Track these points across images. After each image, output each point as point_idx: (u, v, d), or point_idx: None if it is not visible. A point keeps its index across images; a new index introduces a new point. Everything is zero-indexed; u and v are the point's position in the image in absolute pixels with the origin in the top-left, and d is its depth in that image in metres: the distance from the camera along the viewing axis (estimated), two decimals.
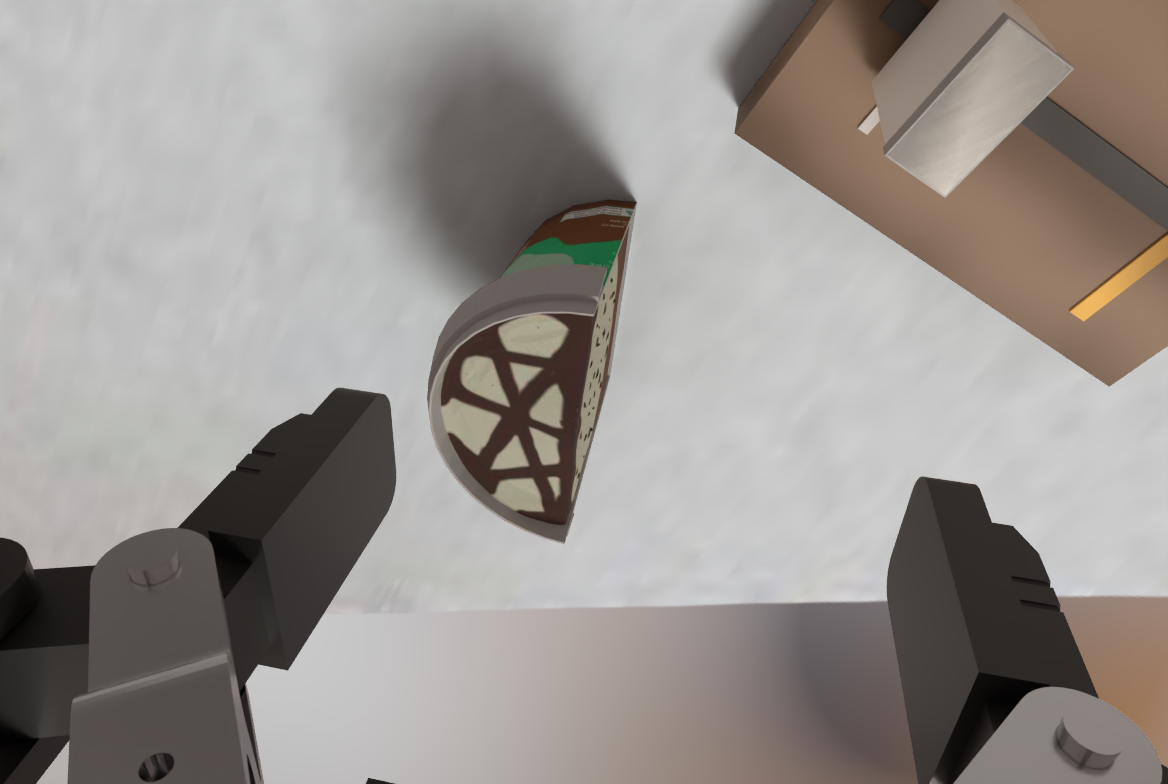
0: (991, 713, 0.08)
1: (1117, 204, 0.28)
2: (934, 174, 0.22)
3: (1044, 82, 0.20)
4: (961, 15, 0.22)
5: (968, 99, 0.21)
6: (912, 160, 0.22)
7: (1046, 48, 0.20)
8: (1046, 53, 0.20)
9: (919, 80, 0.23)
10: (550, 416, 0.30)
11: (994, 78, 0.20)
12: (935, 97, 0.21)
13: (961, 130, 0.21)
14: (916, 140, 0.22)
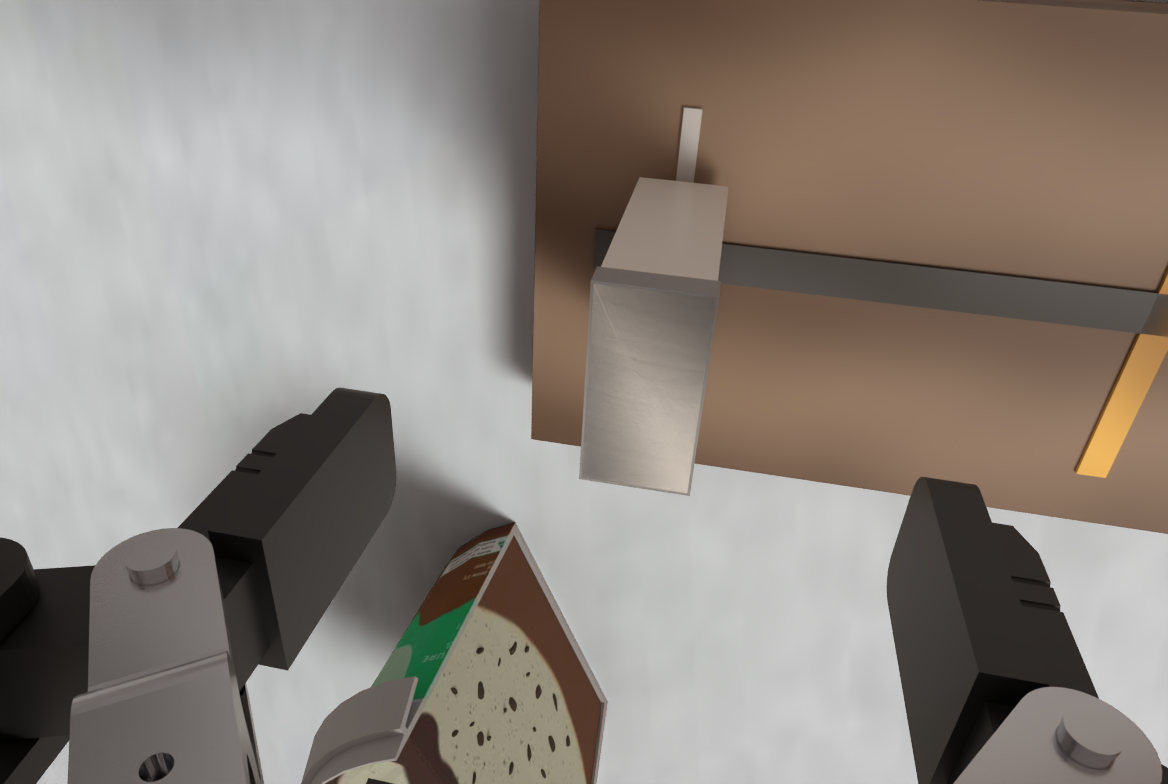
0: (991, 713, 0.08)
1: (1037, 329, 0.19)
2: (654, 476, 0.15)
3: (696, 327, 0.14)
4: None
5: (621, 382, 0.14)
6: (615, 472, 0.15)
7: (665, 289, 0.13)
8: (668, 296, 0.13)
9: None
10: None
11: (632, 349, 0.14)
12: (585, 394, 0.15)
13: (643, 417, 0.15)
14: (601, 449, 0.15)
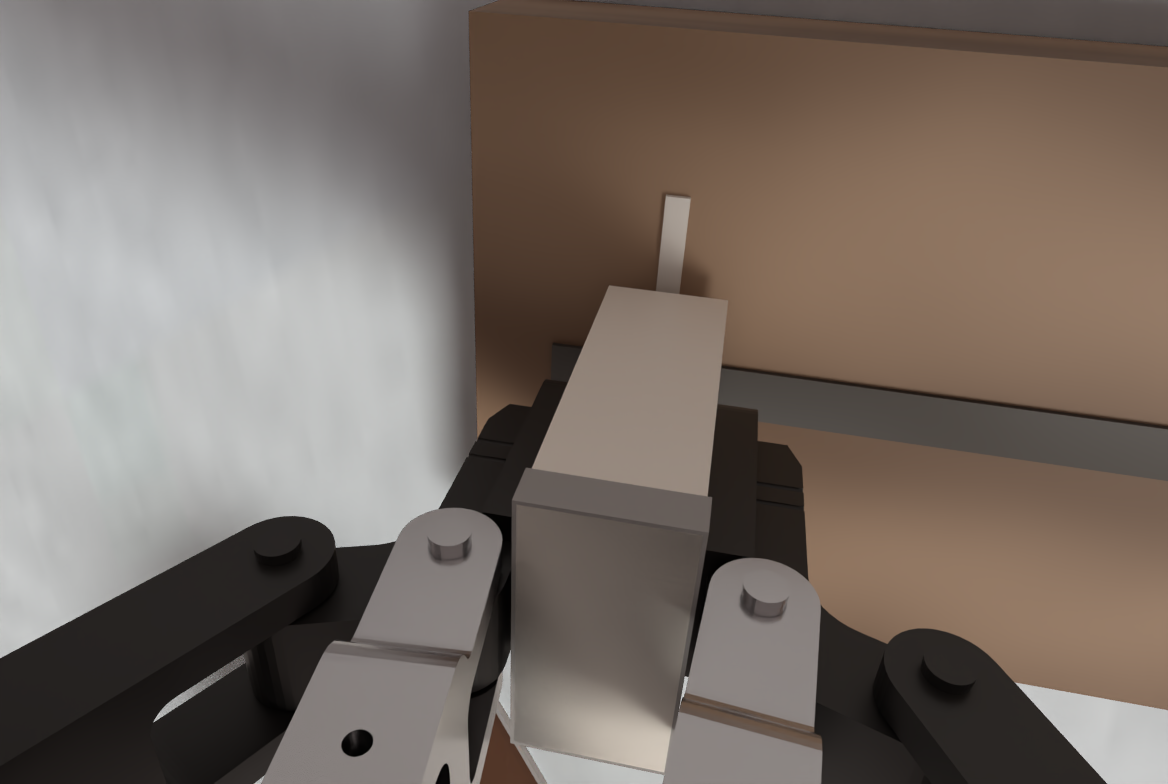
0: None
1: (1137, 486, 0.14)
2: (617, 748, 0.11)
3: (674, 570, 0.09)
4: None
5: (565, 633, 0.10)
6: (560, 739, 0.11)
7: (626, 517, 0.09)
8: (630, 528, 0.09)
9: None
10: None
11: (578, 592, 0.09)
12: (512, 640, 0.10)
13: (598, 679, 0.10)
14: (539, 711, 0.10)
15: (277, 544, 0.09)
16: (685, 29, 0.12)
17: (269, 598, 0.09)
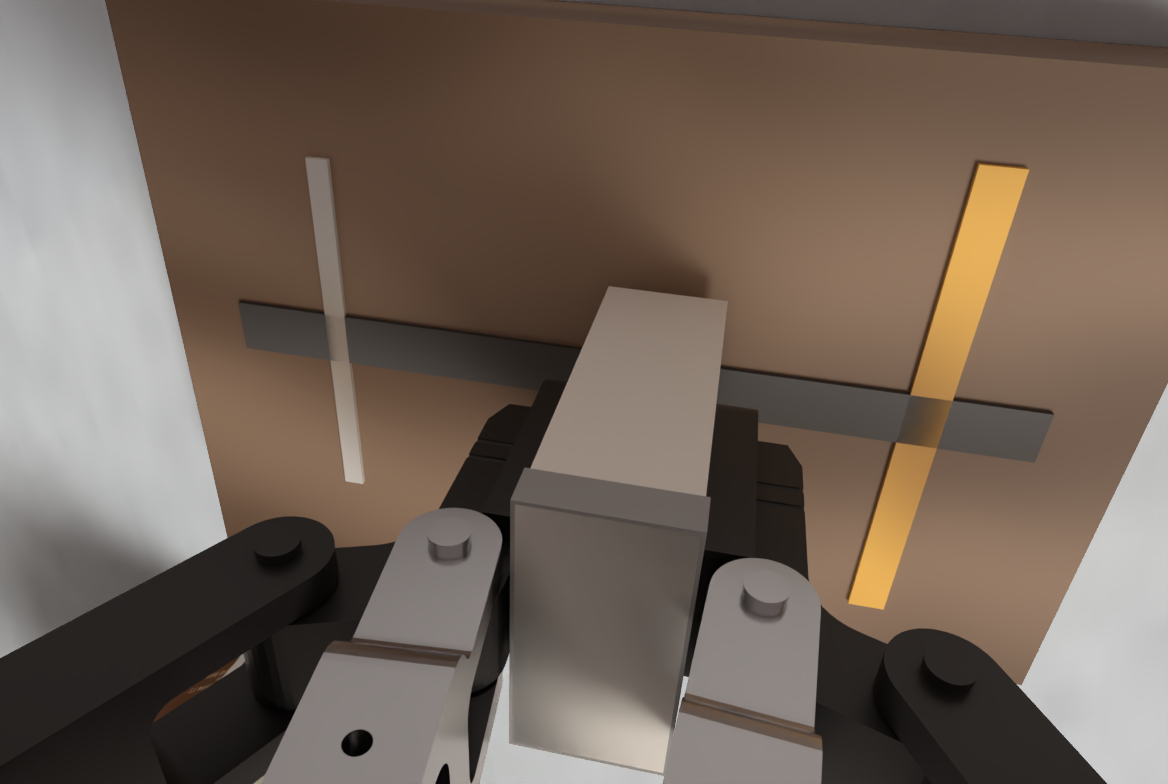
0: (710, 585, 0.10)
1: (775, 433, 0.15)
2: (615, 748, 0.11)
3: (672, 569, 0.09)
4: None
5: (563, 633, 0.10)
6: (560, 739, 0.11)
7: (624, 517, 0.09)
8: (628, 528, 0.09)
9: None
10: None
11: (577, 592, 0.09)
12: (512, 640, 0.10)
13: (597, 679, 0.10)
14: (538, 711, 0.10)
15: (277, 545, 0.09)
16: None
17: (269, 598, 0.09)
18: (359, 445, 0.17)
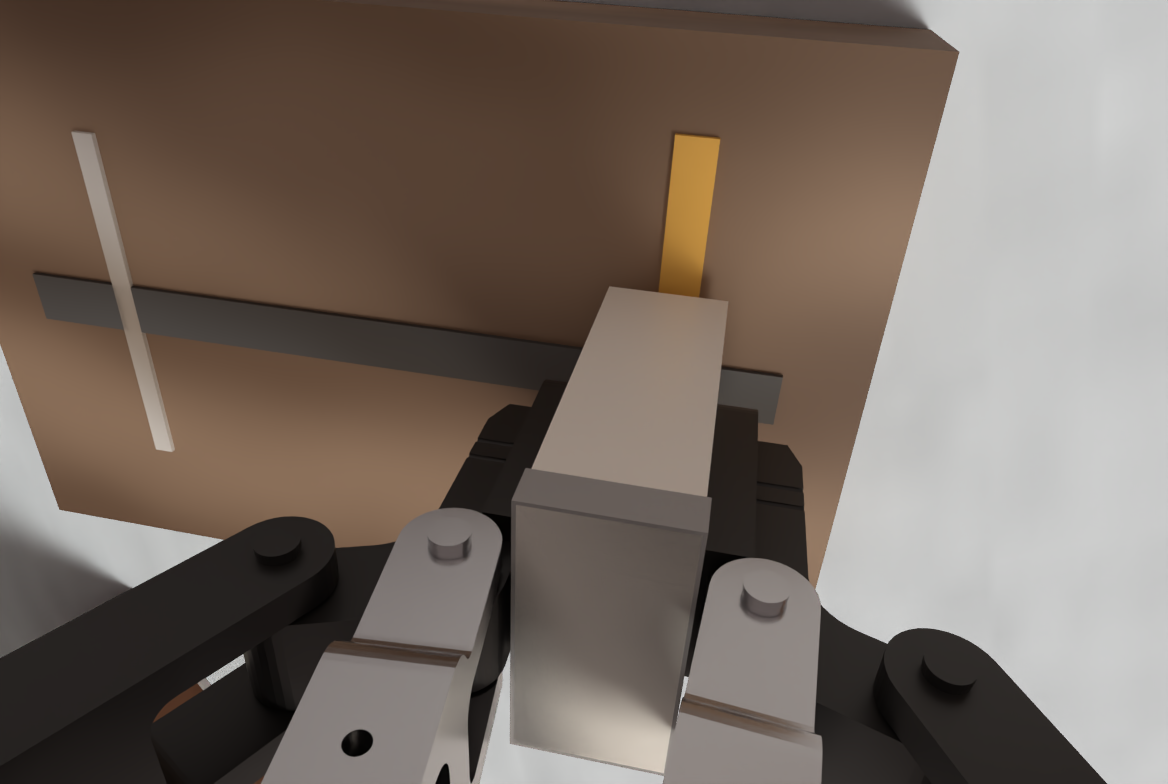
0: None
1: None
2: (616, 748, 0.11)
3: (673, 569, 0.09)
4: None
5: (564, 634, 0.10)
6: (559, 739, 0.11)
7: (625, 518, 0.09)
8: (629, 529, 0.09)
9: None
10: None
11: (578, 593, 0.09)
12: (513, 640, 0.10)
13: (597, 679, 0.10)
14: (539, 711, 0.10)
15: (277, 545, 0.09)
16: None
17: (269, 598, 0.09)
18: (165, 413, 0.18)
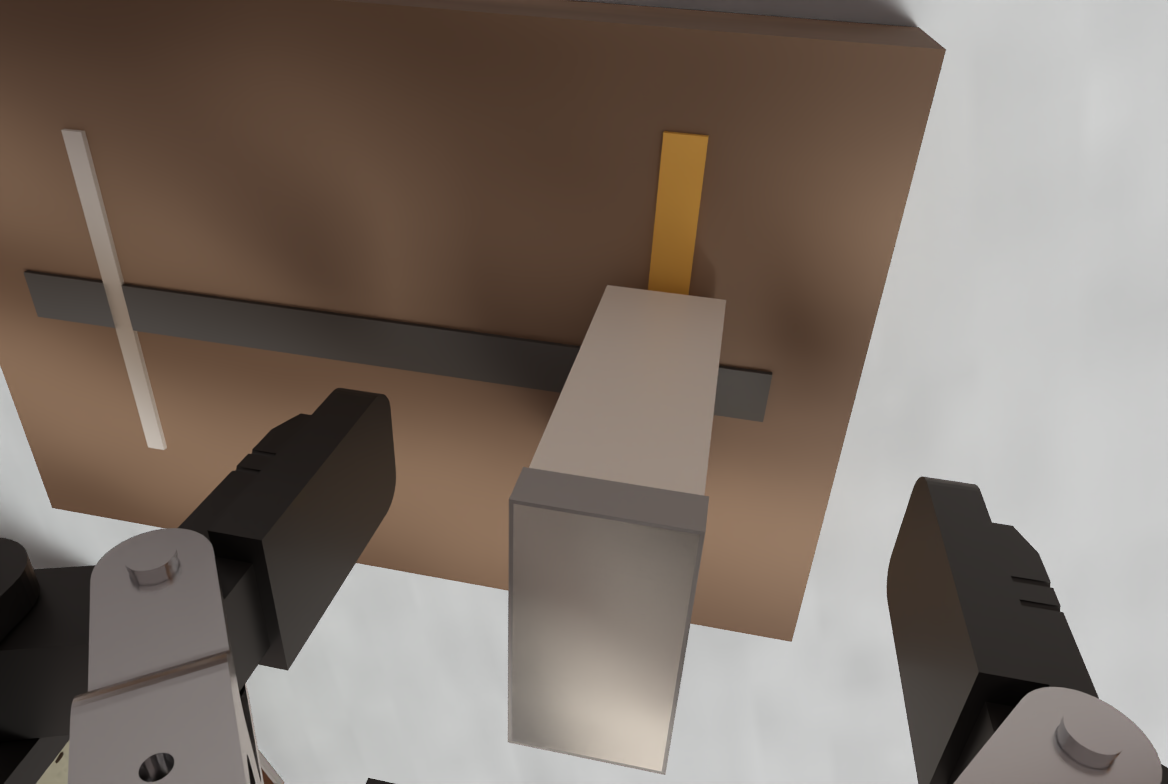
0: (990, 713, 0.08)
1: (528, 396, 0.16)
2: (614, 747, 0.11)
3: (671, 569, 0.09)
4: None
5: (561, 632, 0.10)
6: (557, 738, 0.11)
7: (623, 517, 0.09)
8: (627, 527, 0.09)
9: None
10: None
11: (576, 591, 0.09)
12: (510, 639, 0.10)
13: (595, 677, 0.10)
14: (537, 710, 0.10)
15: None
16: None
17: None
18: (156, 412, 0.18)
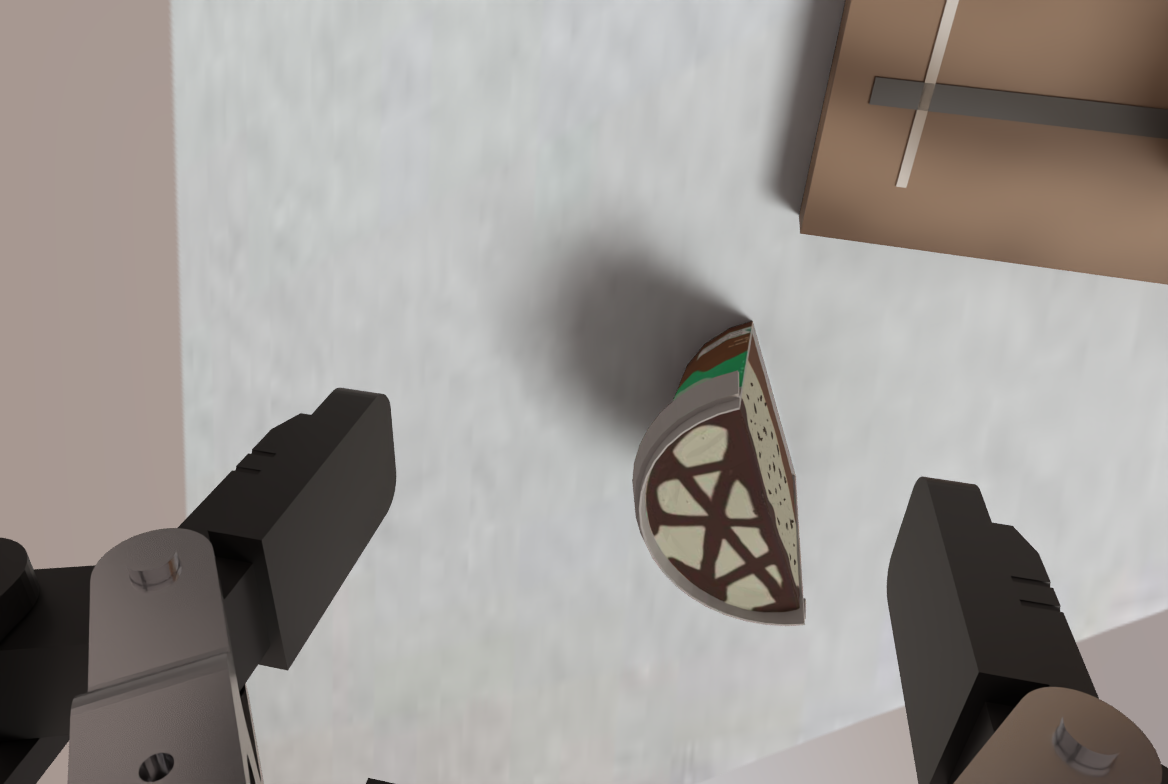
0: (991, 713, 0.08)
1: (1156, 144, 0.31)
2: None
3: None
4: None
5: None
6: None
7: None
8: None
9: None
10: (743, 510, 0.34)
11: None
12: None
13: None
14: None
15: None
16: None
17: None
18: (911, 163, 0.33)
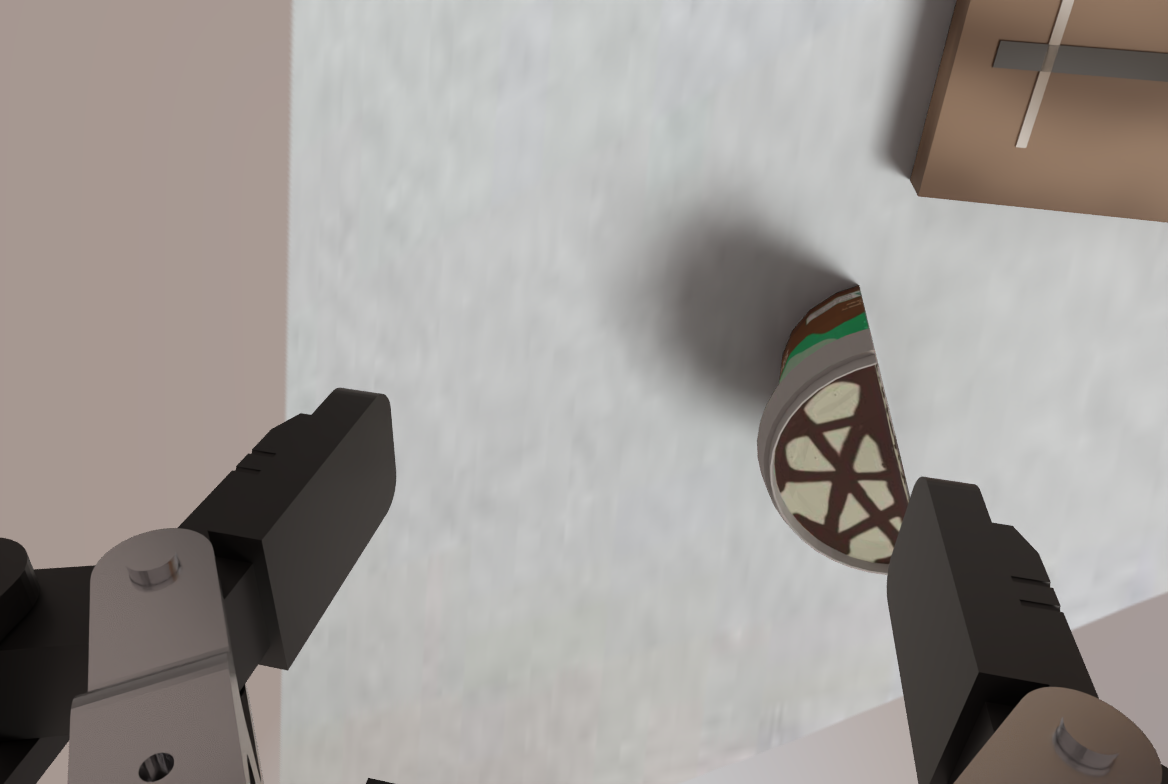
0: (991, 713, 0.08)
1: None
2: None
3: None
4: None
5: None
6: None
7: None
8: None
9: None
10: (871, 464, 0.36)
11: None
12: None
13: None
14: None
15: None
16: None
17: None
18: (1032, 124, 0.34)
